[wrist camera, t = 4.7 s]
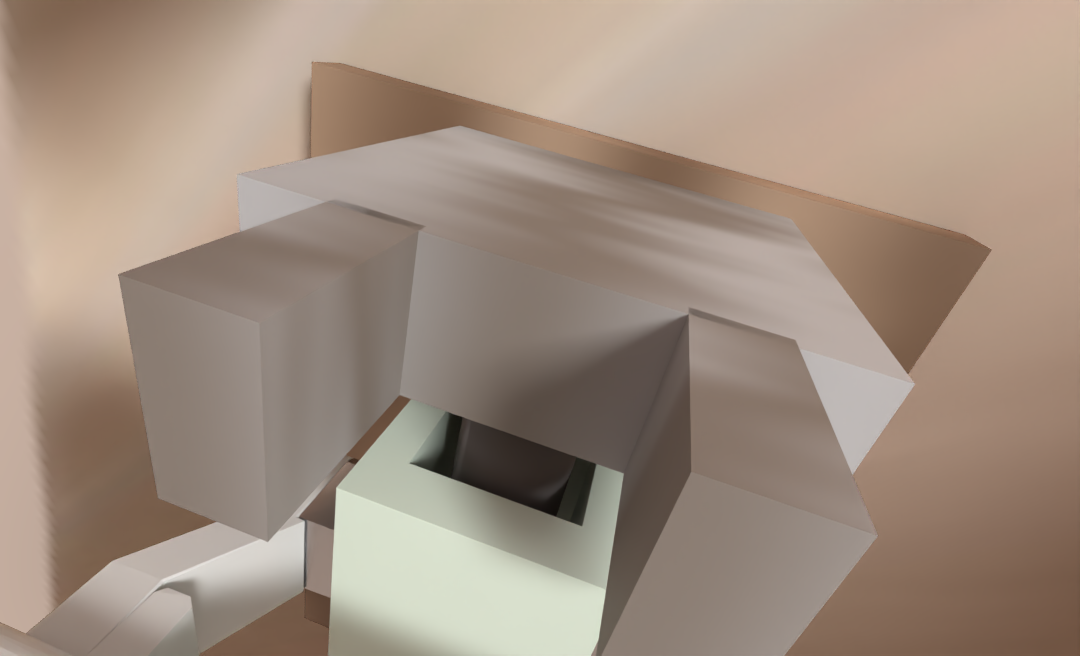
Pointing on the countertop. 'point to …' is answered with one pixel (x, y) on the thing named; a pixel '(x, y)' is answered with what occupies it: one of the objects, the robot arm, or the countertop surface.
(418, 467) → the sleeve
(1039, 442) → the countertop surface
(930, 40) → the countertop surface
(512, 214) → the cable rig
